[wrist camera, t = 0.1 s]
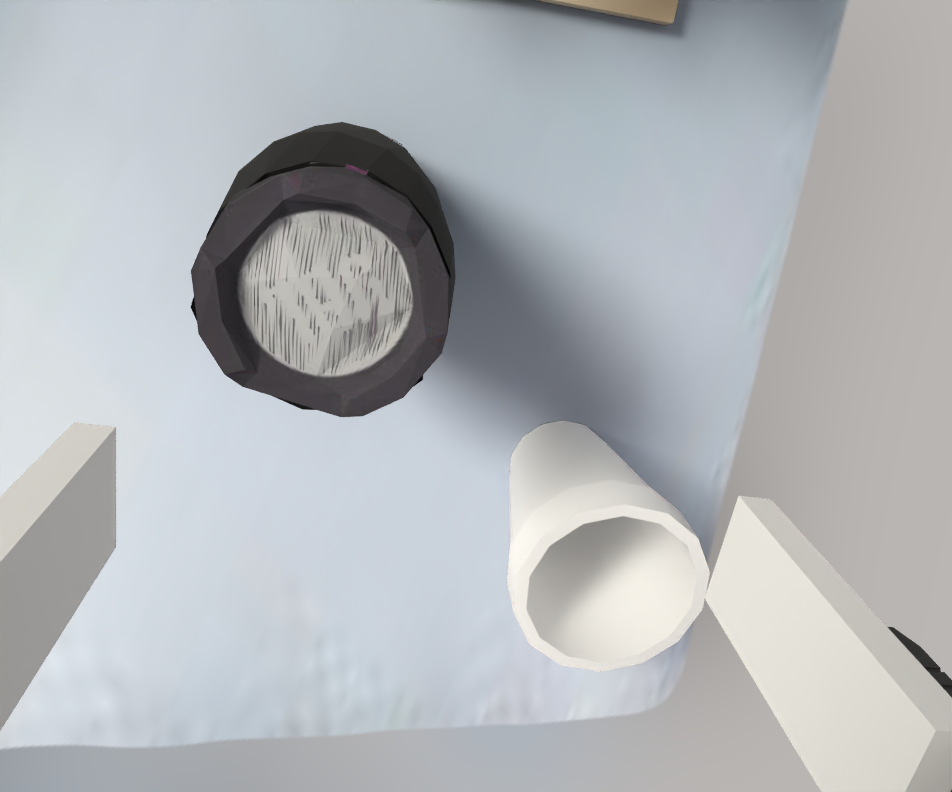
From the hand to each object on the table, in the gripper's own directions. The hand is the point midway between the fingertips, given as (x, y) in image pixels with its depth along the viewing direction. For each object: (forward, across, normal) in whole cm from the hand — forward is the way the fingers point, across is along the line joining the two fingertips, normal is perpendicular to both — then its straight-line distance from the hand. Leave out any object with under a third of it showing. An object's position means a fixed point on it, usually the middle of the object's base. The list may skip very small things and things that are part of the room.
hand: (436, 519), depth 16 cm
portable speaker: (+28, -3, +2) cm, 28 cm away
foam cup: (+28, +11, -12) cm, 32 cm away
